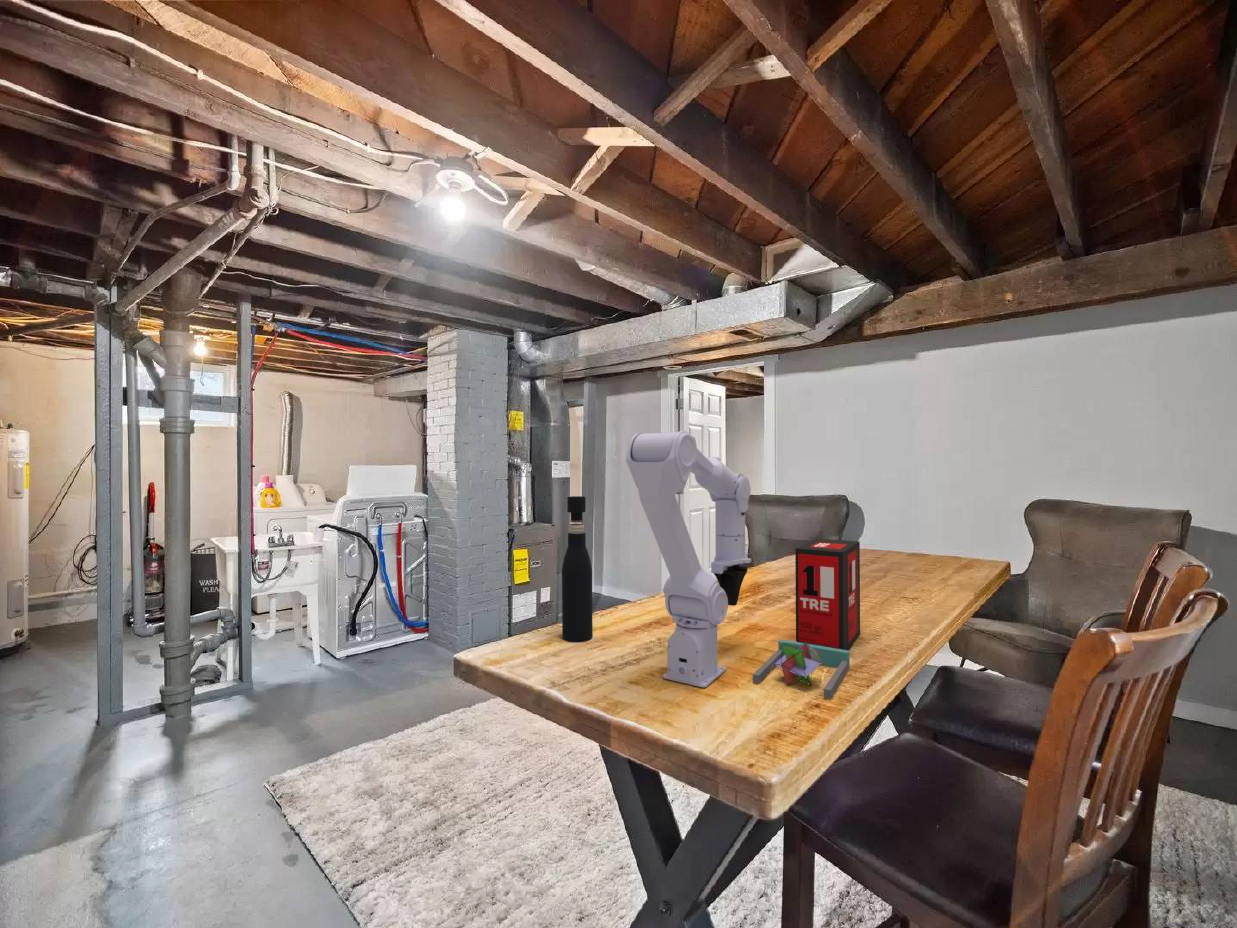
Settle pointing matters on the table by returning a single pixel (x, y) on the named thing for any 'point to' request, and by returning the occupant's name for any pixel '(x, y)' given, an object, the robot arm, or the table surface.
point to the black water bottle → (576, 579)
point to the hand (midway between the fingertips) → (730, 604)
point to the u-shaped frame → (826, 656)
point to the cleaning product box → (828, 593)
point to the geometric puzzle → (798, 663)
